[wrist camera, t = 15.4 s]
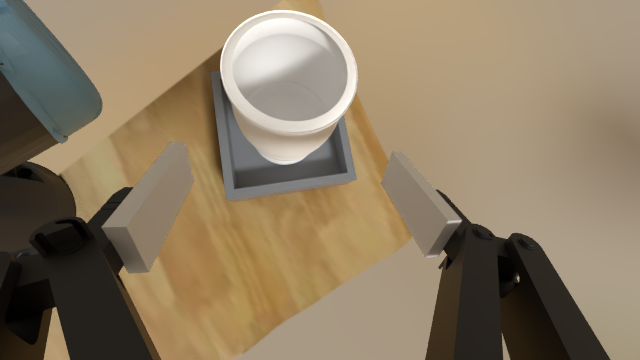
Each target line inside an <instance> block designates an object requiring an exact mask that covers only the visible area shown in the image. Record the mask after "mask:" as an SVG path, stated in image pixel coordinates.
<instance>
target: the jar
mask: <svg viewBox="0 0 640 360" xmlns="http://www.w3.org/2000/svg"><path fill="white" fill-rule="evenodd" d="M220 71H221V78H222V83H223V87H224V90H225V92H226V94H227V96H228V98H229V100H230V102H231V104H232V109H233V113H234V116H235V119H236V122H237V124H238V126H239V128H240V130H241V132H242V133H243V135H244V136H245V137H246V139H247V140H248V141H249V142H250V143H251V144H252V145H253V146H254V147H255V148H256V149H257V151H258V152H259V153H260V154H261V155H262V156H263V157H264V158H265V159H267V160H268V161H270V162H273V163H276V164H281V165H288V164H294V163H297V162H299V161H301V160H302V159H304V158H305V157H306V156H307V155H308V154H310V153H311V152H313V151H315V150H316V149H317V148H319V147H320V146H321V145H322V144H323V143H324V142H325V141H326V140H327V139H328V138H329V136H330V135H331V134H332V132H333V130H334V129H335V127H336V125H337V123H338V121H339V119H340V118H341V117H342V115H343V114H344V113H345V112H346V110H347V109H348V107H349V106H350V104H351V103H352V101H353V99H354V96H355V93H356V90H357V84H358V71H357V65H356V61H355V58H354V56H353V53H352V51H351V49H350V47H349V46H348V44H347V43H346V41H345V40H344V39H343V38H342V37H341V36H340V34H339V33H338V32H337V31H336V30H334V29H333V28H332V27H331V26H329V25H328V24H327V23H325V22H323V21H322V20H320V19H318V18H316V17H313V16H311V15H308V14H305V13H301V12H297V11H289V10H276V11H269V12H265V13H261V14H258V15H255V16H253V17H251V18H249V19H247V20H246V21H244V22H243V23H241V24H240V25H239V26H238V27H237V28H236V29H235V30H234V31H233V32H232V33H231V35H230V36H229V38H228V39H227V41H226V43H225V45H224V48H223V51H222V55H221V61H220Z"/></svg>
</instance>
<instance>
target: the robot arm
mask: <svg viewBox="0 0 640 360" xmlns="http://www.w3.org/2000/svg"><path fill="white" fill-rule="evenodd" d="M101 111H102V99H101V97H100V94H99V92H98V91H97V89H96V88H95V86H94V84H93V83H92V82H91V80H90V79H89V78H88V76H87V75H86V74H85V73H84V71H83V70H82V69H81V67H80V66H79V65H78V64H77V63H76V61H75V60H74V59H73V58H72V56H71V55H70V54H69V53H68V51H67V50H66V49H65V48H64V47H63V46H62V44H61V43H60V42H59V41H58V40H57V39H56V37H55V36H54V35H53V34H52V33H51V32H50V30H49V29H48V28H47V27H46V26H45V25H44V24H43V23H42V21H41V20H40V19H39V18H38V17H37V16H36V14H35V13H34V12H33V11H32V10H31V9H30V8H29V7H28V5H27V4H26V3H25V2H24V1H23V0H0V360H43V359H44V353H45V348H46V342H47V337H48V331H49V325H50V320H51V314H52V309H53V308H54V307H56V308H57V311H58V315H59V319H60V323H61V326H62V330H63V334H64V338H65V341H66V345H67V349H68V353H69V356H70V360H161V358H160V356H159V354H158V352H157V350H156V348H155V346H154V344H153V342H152V340H151V338H150V336H149V334H148V332H147V330H146V328H145V326H144V324H143V322H142V320H141V318H140V316H139V314H138V312H137V310H136V308H135V306H134V304H133V302H132V300H131V298H130V296H129V294H128V292H127V290H126V288H125V286H124V284H123V282H122V280H121V278H120V276H119V274H118V273H119V272H120V270H121V268H122V267H123V265H124V266H125V268H126V270H127V272H128V273H143V272H149V271H150V269H151V267H152V265H153V263H154V261H155V259H156V257H157V255H158V253H159V251H160V249H161V247H162V245H163V243H164V241H165V239H166V237H167V235H168V233H169V231H170V229H171V227H172V225H173V223H174V221H175V219H176V216H177V214H178V212H179V210H180V208H181V206H182V204H183V202H184V200H185V198H186V196H187V194H188V192H189V190H190V188H191V186H192V184H193V182H194V178H193V174H192V170H191V165H190V161H189V156H188V152H187V147H186V143H182V142H171V143H170V144H169V145H168V146H167V148H166V149H165V150H164V151H163V152H162V154H161V155H160V156H159V157H158V159H157V160H156V161H155V162H154V163H153V165H152V166H151V167H150V168H149V170H148V171H147V172H146V173H145V174H144V176H143V177H142V178H141V179H140V181H139V182H138V183H137V184H136V186H135V187H124V188H123V189H121V190H119V191H118V192H116V193H114V194H113V195H112V196H111V197H110V198H109V200H108V201H107V202H106V204H104V205H103V206H102V207H101V208H100V210H99V211H98V212H97V213H96V214H95V215H94V216H93V217H92V219H91V220H90V221H89V222H88V223H87V224H86V222H85V221H84V220H83V219H82V218H79V217H75V212H76V211H75V204H74V200H73V197H72V194H71V192H70V190H69V188H68V187H67V185H66V184H65V183H64V181H63V180H62V179H61V178H60V177H59V176H57V175H56V174H55V173H53V172H52V171H51V170H49V169H47V168H45V167H43V166H41V165H38V164H35V163H32V162H27V160H29V159H31V158H33V157H34V156H36V155H38V154H40V153H42V152H43V151H45V150H47V149H49V148H50V147H52V146H54V145H56V144H58V143H64V142H66V141H67V140H68V136H70V135H71V134H73V133H74V132H76V131H78V130H79V129H81V128H82V127H84V126H86V125H87V124H89V123H90V122H92V121H93V120H95V119H96V118H97V117H98V116H99V115H100V113H101ZM381 184H382V186H383V188H384V189H385V191H386V193H387V194H388V196H389V198H390V199H391V201H392V203H393V204H394V206H395V208H396V209H397V211H398V213H399V214H400V216H401V218H402V219H403V221H404V223H405V224H406V226H407V228H408V229H409V231H410V233H411V234H412V236H413V238H414V239H415V241H416V243H417V244H418V246H419V247H420V249H421V251H422V252H423V254H424V256H425V257H438V256H439V255H440V253H441V252H442V250H444V251H445V253H446V254H447V256H446V257H445V259H444V260H443V262H442V263H441V264H440V266H439V269H441V268H442V267H443V268H442V274H441V279H440V284H439V290H438V295H437V300H436V306H435V311H434V316H433V321H432V327H431V332H430V337H429V342H428V348H427V354H426V358H425V360H503V350H502V334H503V337H504V340H505V343H506V346H507V350H508V353H509V356H510V360H610V358H609V357H608V355H607V353H606V352H605V350H604V349H603V347H602V345H601V344H600V342H599V340H598V339H597V337H596V336H595V334H594V332H593V331H592V329H591V327H590V326H589V324H588V322H587V321H586V319H585V317H584V316H583V314H582V313H581V311H580V309H579V308H578V306H577V304H576V303H575V301H574V300H573V298H572V296H571V295H570V293H569V291H568V290H567V288H566V287H565V285H564V283H563V282H562V280H561V278H560V277H559V275H558V273H557V272H556V270H555V269H554V267H553V265H552V264H551V262H550V260H549V259H548V257H547V256H546V254H545V252H544V251H543V249H542V248H541V246H540V245H539V244H538V243H537V242H536V241H534V240H533V239H532V238H530V237H528V236H526V235H523V234H519V233H513V234H511V236H510V237H509V238H508V239H504V238H499V237H495V236H494V234H493V233H492V232H491V231H490V230H488V229H487V228H485V227H483V226H481V225H478V224H472V223H471V222H470V221H469V220H468V219H467V218H466V217H465V216H464V215H463V214H462V212H461V211H460V210H459V209H458V208H457V207H455V205H454V204H453V203H452V202H451V200H450V199H449V198H448V197H447V196H446V195H445V194H443V193H442V192H440V191H439V190H435V189H434V188H433V187H432V185H431V184H430V183H429V182H428V181H427V180H426V179H425V177H424V176H423V175H422V174H421V173H420V172H419V171H418V170H417V169H416V167H415V166H414V165H413V164H412V163H411V162H410V161H409V159H408V158H407V157H406V156H405V155H404V154H403V153H402V152H392V153H391V156H390V159H389V162H388V165H387V168H386V170H385V173H384V176H383V179H382V182H381ZM518 276H519V277H520V279H519V282H518V280H517V277H518ZM501 330H502V331H501Z"/></svg>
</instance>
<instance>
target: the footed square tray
mask: <svg viewBox="0 0 640 360" xmlns="http://www.w3.org/2000/svg"><path fill="white" fill-rule="evenodd" d="M210 74H211V82H212V90H213V98H214V106H215V114H216V122H217V130H218V138H219V146H220V154H221V162H222V170H223V178H224V186H225V194H226V199H227V200H229V201H232V202H236V201H243V200H249V199H255V198H262V197H268V196H274V195H281V194H287V193H293V192H300V191H306V190H312V189H319V188H325V187H331V186H338V185H344V184H348V183H350V182H352V181H354V180H356V174H355V169H354V163H353V158H352V153H351V148H350V143H349V138H348V133H347V128H346V123H345V118H344V114H343V115H342V117H341V118H340V119H339V121H338V123H337V125H336V127H335V129H334V130H333V132H332V134H331V135H330V136H329V138H328V139H327V140H326V141H325V142H324V143H323V144H322V145H321V146H320V147H319V148H317V149H316V150H315V151H313V152H311V153H310V154H308V155H307V156H306V157H305V158H304V159H302V160H301V161H299V162H297V163H294V164H288V165H281V164H276V163H273V162H270V161H268V160H267V159H265V158H264V157H263V156H262V155H261V154H260V153H259V152H258V151H257V149H256V148H255V147H254V146H253V145H252V144H251V143H250V142H249V141H248V140H247V139H246V137H245V136H244V135H243V133H242V132H241V130H240V128H239V126H238V124H237V122H236V119H235V116H234V113H233V109H232V104H231V102H230V100H229V98H228V96H227V94H226V92H225V90H224V87H223V83H222V78H221V71H210Z"/></svg>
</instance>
